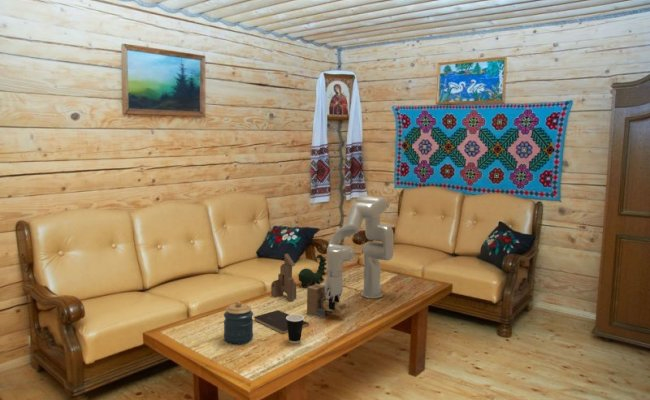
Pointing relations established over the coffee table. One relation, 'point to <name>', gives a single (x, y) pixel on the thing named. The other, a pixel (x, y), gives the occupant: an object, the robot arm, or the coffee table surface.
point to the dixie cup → (294, 327)
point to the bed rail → (338, 306)
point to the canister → (238, 324)
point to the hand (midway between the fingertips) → (333, 307)
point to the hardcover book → (276, 321)
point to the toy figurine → (309, 277)
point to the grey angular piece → (316, 300)
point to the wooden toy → (285, 281)
